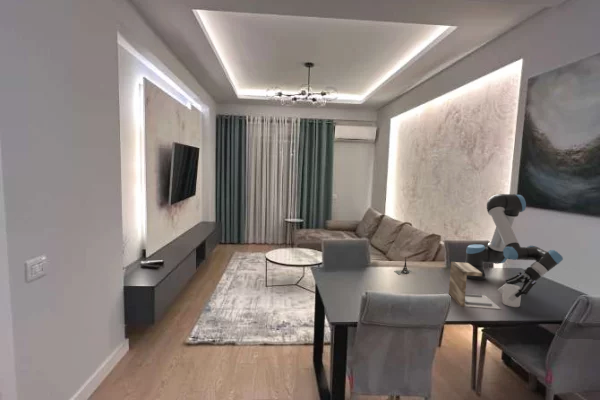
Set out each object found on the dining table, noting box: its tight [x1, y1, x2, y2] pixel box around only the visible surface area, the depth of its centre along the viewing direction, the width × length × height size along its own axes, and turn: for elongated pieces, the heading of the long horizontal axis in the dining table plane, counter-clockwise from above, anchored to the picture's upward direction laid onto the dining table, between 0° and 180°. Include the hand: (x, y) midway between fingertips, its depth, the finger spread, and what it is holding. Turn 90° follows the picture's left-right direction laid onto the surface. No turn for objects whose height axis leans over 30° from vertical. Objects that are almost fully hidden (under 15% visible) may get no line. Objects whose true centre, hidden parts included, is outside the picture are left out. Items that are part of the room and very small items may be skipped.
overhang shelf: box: [448, 261, 482, 308], centre depth 188 cm, size 10×20×20 cm, turn 173°
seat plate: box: [464, 293, 501, 310], centre depth 188 cm, size 18×20×2 cm
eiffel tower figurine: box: [393, 256, 413, 276], centre depth 240 cm, size 15×10×13 cm
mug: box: [501, 283, 522, 308], centre depth 186 cm, size 9×12×11 cm
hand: (504, 295), depth 186 cm, fingers closed on mug, 12 cm apart
